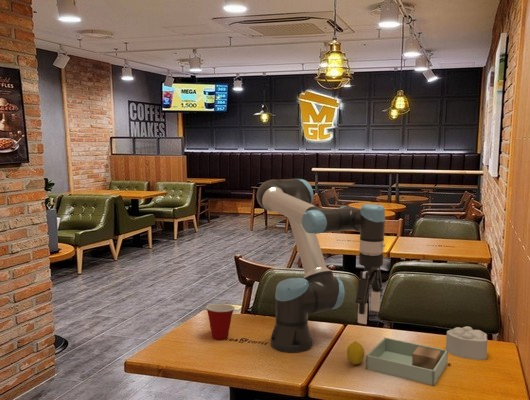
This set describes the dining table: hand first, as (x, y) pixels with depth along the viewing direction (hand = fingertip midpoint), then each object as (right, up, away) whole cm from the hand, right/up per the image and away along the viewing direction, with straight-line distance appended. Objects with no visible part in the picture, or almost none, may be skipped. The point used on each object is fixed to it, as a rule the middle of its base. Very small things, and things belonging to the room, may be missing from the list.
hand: (368, 316), depth 162 cm
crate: (+12, -16, -1) cm, 20 cm away
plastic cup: (-51, -14, +25) cm, 58 cm away
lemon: (-4, -16, +1) cm, 17 cm away
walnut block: (+17, -16, -5) cm, 24 cm away
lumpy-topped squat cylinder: (+36, -16, +10) cm, 40 cm away
